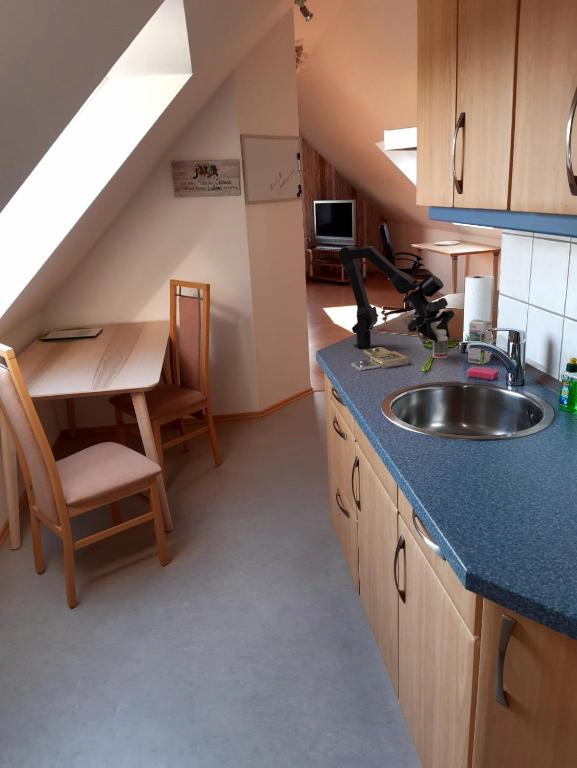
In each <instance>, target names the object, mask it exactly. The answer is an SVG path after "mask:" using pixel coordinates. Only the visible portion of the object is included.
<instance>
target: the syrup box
mask: <svg viewBox="0 0 577 768" xmlns="http://www.w3.org/2000/svg"><path fill="white" fill-rule="evenodd" d="M492 322H493V321H492V320H487V319H478V318H477V319H472V320H470V321H469V323H468V325H469V326H468V341H469V340H471V341H481V342H485V343H492V330H491V331H485V329H488V328H491V329H492V325H493V324H492ZM467 353H468V356H467V357H468V358H467V363H469V364H470V363H471V364H476V365H484V364H486V363H488V362H490V361H491V353H490V354H489V353H488V352H486V351H484V350H481V349H475V348H474V349H469V348H468V352H467Z"/></svg>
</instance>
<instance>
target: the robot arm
mask: <svg viewBox="0 0 577 768" xmlns="http://www.w3.org/2000/svg"><path fill="white" fill-rule="evenodd" d="M337 256H338V259H339V262H340V264H341V266H342V267H343V269H344V270H345V271H346V272H347V275H348V279H349V283H350V286H351V289H352V293H353V296H354V300H355V303H356V308H357V309H356V323H355V324H354V325H353V326H352V327H351V330H352V333H353V334H355V343H353V344H352V346H353V345H354V346H353V347H355V348H357V349H358V348H359V349H358V350H362V348H363V349H370V348H375V345H374V344H372V343H371V342H372V341H371V330H373V329H374V326H375V325H376V324H377V323H378V320H379V319H378V317H379V314H378V312H377V307H376V306H372V305H371V304H370V302H369V298H368V295H367V291H366V287H365V284H364V281H363V278H362V277H363V276H362V273H361V270H360V263H361V262H360V260H361V259H367V260H368V261H369V262H371V264H372V265H374V267H376V268H377V269H378V270H379V271H380V272H381V273H382V274H384V276H386V277H387V278H388V279H389V281H390V283H391V285H392V286H393V288H394V289H395V290H396V292H398V294H401V295H403V294H404V298H403V300H402V302H403V303H405V304H410V305H411V307H412V308H413V309H414V313H413V314H414V317H413V318H412V319H411V320H410V322H409V323H408V324H407V330H408V331H409V333H413V332H416V333H417V334H418V333H421V334H423V335H425V336H427V337H428V338H430V339H432V340H433V341H435V342H437V341H438V339H437V336H436V335H435V330H434V331H433V329H432V328H431V323H434V322H435V323H436V327H435V329H436V330H438V329H443V330H446V335H445V336H447V337H448V340H449V339H450V338H451V335H450V331H449V327H448V324H449V322H450V321H451V320H452V319H453V318H454V317H455V315H456V314H455V313H454V311H453V309H447V307H448V305H449V303H448V300H447V299H446V298H445V297H441V298H439V299H438V300H436V301H429V300H428V299H427V298H428V297H429V298H432V297H433V296H435V295H436V294H437V293H438V292H439V291H441V290H442V289H443V288H444V287H445V285H444V282H443V281H442V280H441V279H440V278H439V277H437V276H436V275H434V274H433V273H431V272H430V273H429V274H427V276H426V277H425V278H424V279H423V280H417V279H415V278H414V277H413V276H411V275H409V274H408V273H406V272H404V271H402V270H400V269H398V268H397V267H396V266H395V265H393V263H391V262H390V261H389V260H388V259H387V258H386V257H385V256H384V255H382V254H381V253H380V251H378V250H377V249H376V248H375V247H374V246H373V245H372V246H371V245H370V246H362V247H357V246H355V245H348V246H343V247H342V248H341V249H339V252H338V253H337ZM408 293H409V294H408ZM405 294H408V295H405ZM446 309H447V310H446ZM441 310H443V311H442V312H441ZM415 316H416V317H415ZM418 316H419V317H418ZM433 341H432V342H433Z"/></svg>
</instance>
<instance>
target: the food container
mask: <svg viewBox="0 0 577 768" xmlns="http://www.w3.org/2000/svg"><path fill="white" fill-rule="evenodd" d="M417 317H419V316H418V315H417ZM435 323H436V322H434V323H431V328H432V329H433V331H434V332H435ZM417 338H418V340H420V342H421V343H422V344H423V345H424V344H426V343H425V342H426V341H429V340H432V339H430V338H428V337H427V336H425V335H423V334H421V333H417Z"/></svg>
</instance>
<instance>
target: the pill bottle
mask: <svg viewBox="0 0 577 768" xmlns="http://www.w3.org/2000/svg"><path fill="white" fill-rule="evenodd" d="M434 333H435V335H436V336H437V339H438V341H437V342H435V341H432V342H431V343H432V355H431V356H432V357H433V358H434V359H447V358H448V354H449V348H448V347H449V339H448V337H447V336H445V335H446V330H443V329H434Z"/></svg>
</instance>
